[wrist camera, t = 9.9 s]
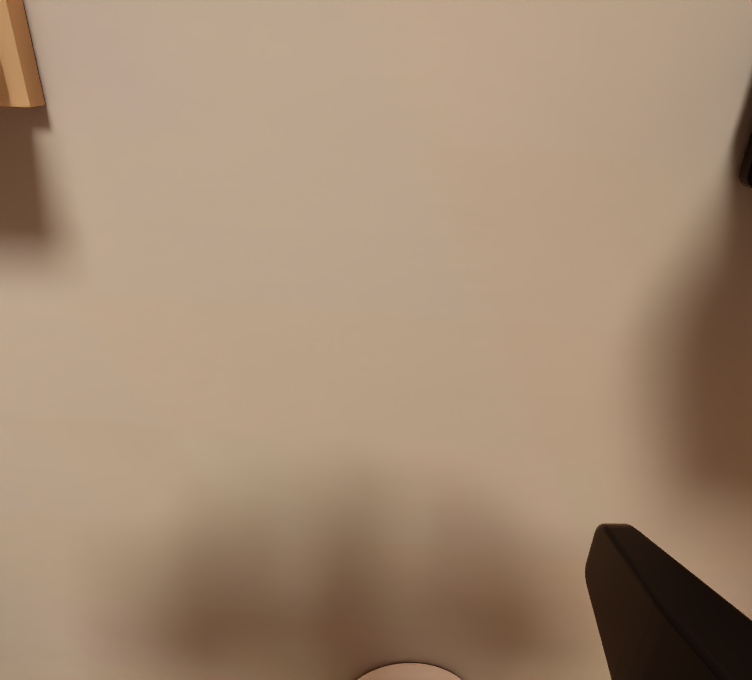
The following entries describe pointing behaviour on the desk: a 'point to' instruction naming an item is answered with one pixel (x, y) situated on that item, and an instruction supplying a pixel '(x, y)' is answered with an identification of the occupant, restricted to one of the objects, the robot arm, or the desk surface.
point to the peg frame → (17, 59)
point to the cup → (409, 673)
